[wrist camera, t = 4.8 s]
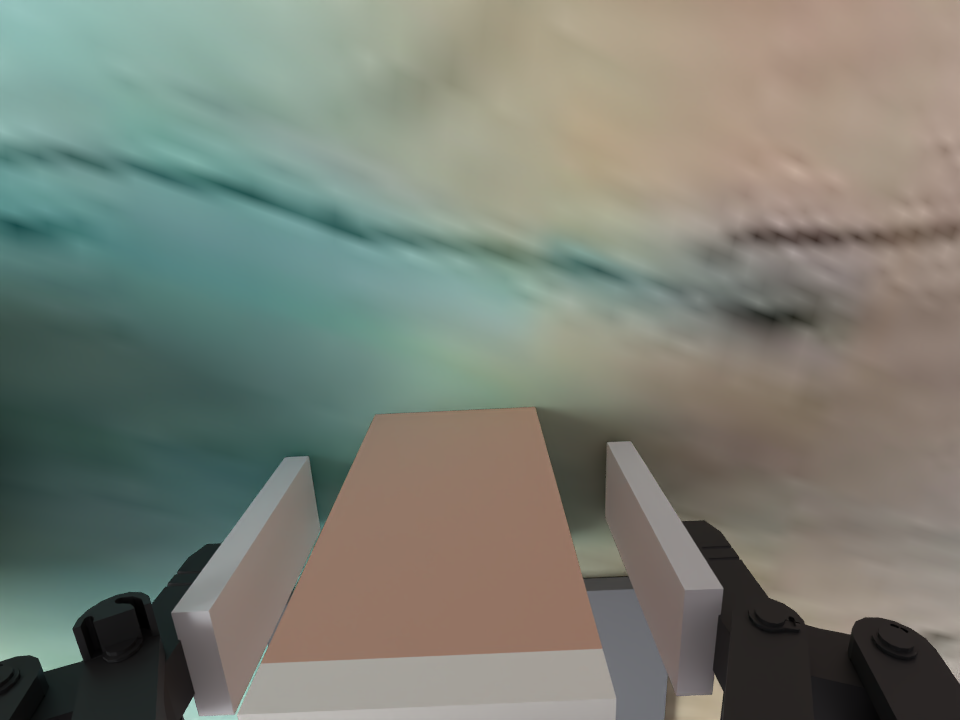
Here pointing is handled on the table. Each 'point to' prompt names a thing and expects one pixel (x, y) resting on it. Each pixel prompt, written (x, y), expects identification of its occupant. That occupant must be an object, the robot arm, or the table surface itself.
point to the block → (440, 586)
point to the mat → (623, 649)
